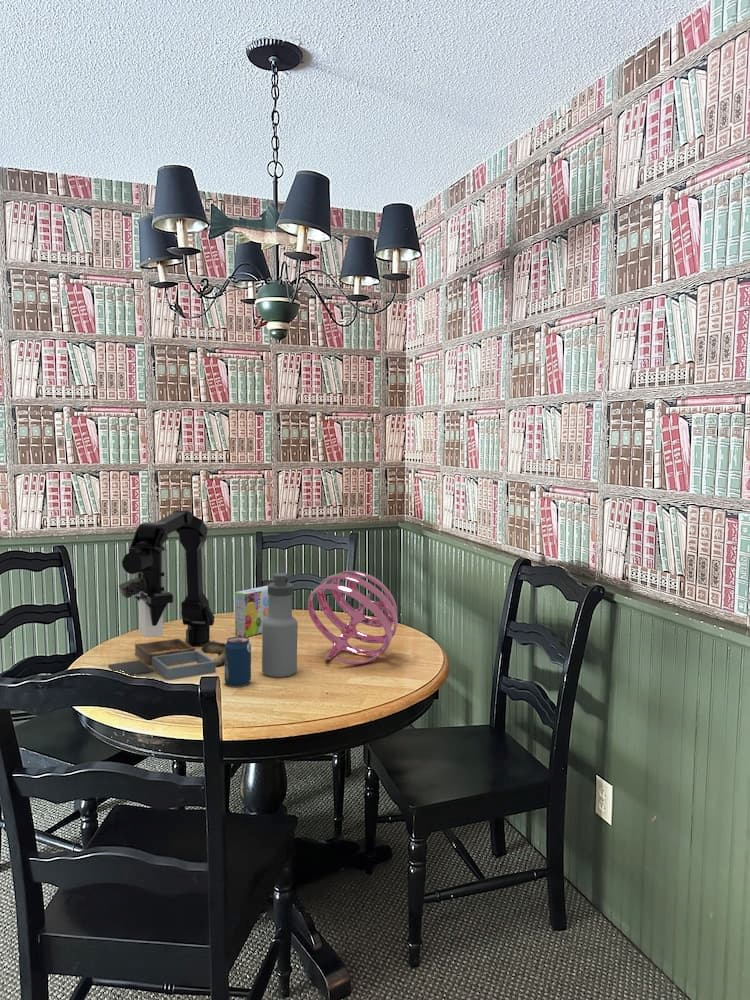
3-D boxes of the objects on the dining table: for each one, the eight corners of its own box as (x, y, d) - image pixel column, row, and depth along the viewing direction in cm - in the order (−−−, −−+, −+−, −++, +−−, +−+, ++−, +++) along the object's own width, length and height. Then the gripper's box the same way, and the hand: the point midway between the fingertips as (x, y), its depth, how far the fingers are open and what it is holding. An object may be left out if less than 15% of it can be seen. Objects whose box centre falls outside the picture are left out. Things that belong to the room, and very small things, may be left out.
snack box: (277, 624, 263) (278, 582, 262) (289, 626, 260) (289, 584, 259) (234, 635, 246) (234, 591, 245) (246, 638, 243) (246, 593, 242)
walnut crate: (179, 647, 229) (179, 638, 229) (194, 658, 218) (194, 648, 218) (135, 653, 221) (135, 644, 221) (149, 665, 210) (149, 654, 210)
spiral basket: (335, 611, 196) (381, 546, 214) (270, 619, 215) (317, 559, 233) (388, 684, 205) (428, 616, 223) (321, 685, 224) (363, 623, 242)
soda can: (255, 681, 197) (256, 637, 196) (241, 689, 191) (241, 643, 190) (234, 678, 200) (234, 634, 199) (219, 685, 193) (219, 640, 193)
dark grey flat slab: (140, 661, 213) (140, 660, 213) (153, 672, 203) (153, 670, 203) (108, 666, 208) (108, 664, 208) (120, 677, 198) (120, 675, 198)
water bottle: (263, 667, 210) (264, 570, 209) (297, 667, 211) (299, 571, 209) (260, 678, 200) (261, 576, 198) (296, 678, 201) (297, 577, 199)
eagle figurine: (219, 652, 220) (196, 653, 213) (231, 635, 218) (208, 635, 211) (232, 671, 216) (208, 672, 209) (244, 653, 214) (221, 653, 207)
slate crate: (197, 660, 216) (197, 650, 216) (215, 672, 205) (215, 661, 204) (151, 667, 208) (151, 656, 208) (167, 680, 197) (167, 669, 197)
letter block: (156, 631, 209) (157, 596, 208) (163, 635, 205) (163, 599, 204) (139, 633, 206) (139, 597, 205) (145, 637, 202) (145, 600, 201)
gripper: (112, 566, 207) (112, 620, 208) (132, 575, 192) (132, 634, 193) (151, 563, 213) (150, 616, 214) (174, 572, 198) (173, 629, 199)
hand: (151, 623), depth 205 cm, fingers closed on letter block, 5 cm apart
